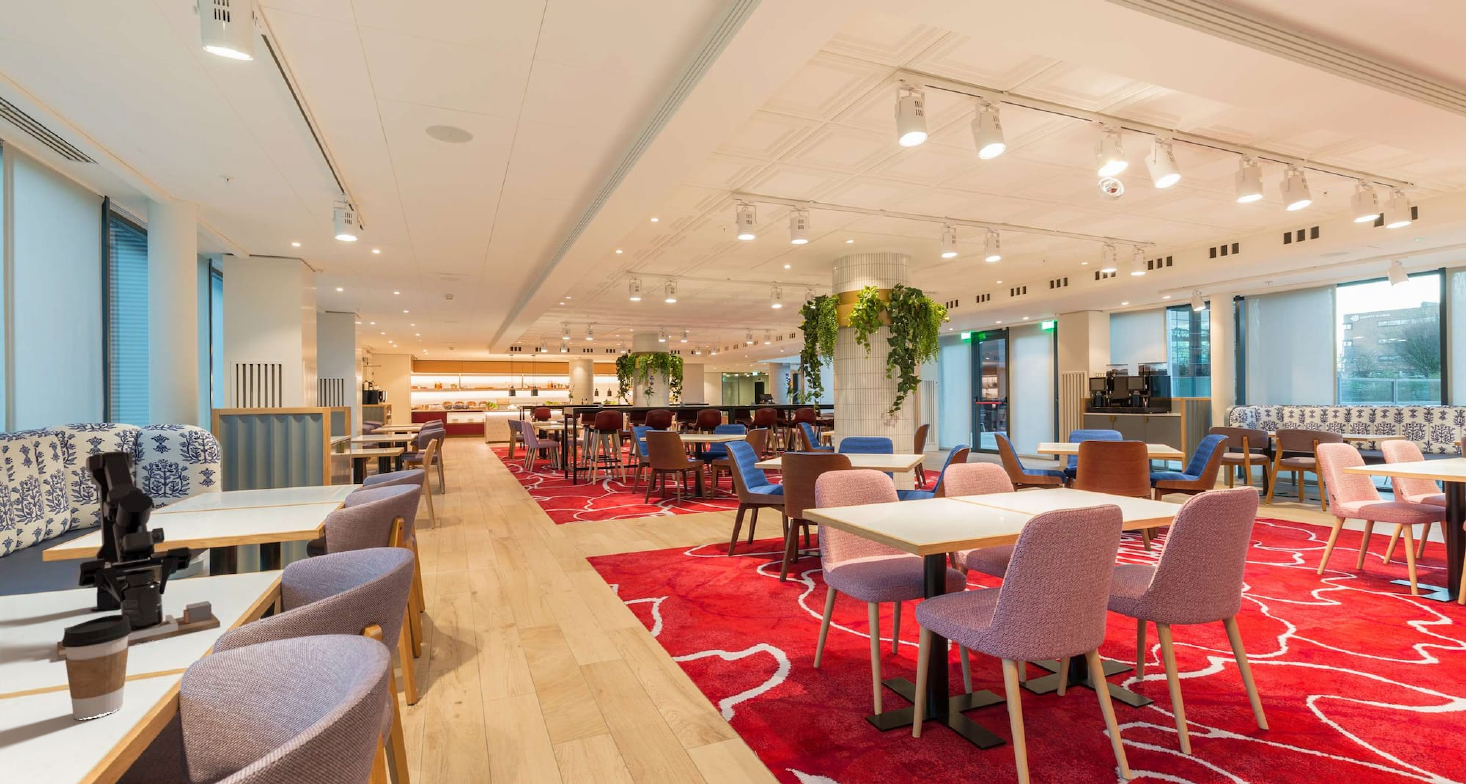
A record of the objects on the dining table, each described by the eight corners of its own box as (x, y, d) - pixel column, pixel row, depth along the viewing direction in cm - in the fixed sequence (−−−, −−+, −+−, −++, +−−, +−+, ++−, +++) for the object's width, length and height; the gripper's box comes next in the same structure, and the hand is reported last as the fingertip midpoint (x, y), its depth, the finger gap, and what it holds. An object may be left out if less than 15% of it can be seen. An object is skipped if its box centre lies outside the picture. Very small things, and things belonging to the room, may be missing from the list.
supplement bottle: (169, 622, 150) (166, 569, 149) (131, 633, 144) (128, 578, 143) (154, 618, 153) (150, 566, 152) (116, 629, 147) (112, 575, 146)
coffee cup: (144, 704, 114) (143, 616, 114) (82, 728, 106) (81, 633, 106) (112, 698, 117) (111, 612, 117) (50, 720, 109) (49, 628, 109)
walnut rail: (210, 616, 161) (210, 597, 161) (220, 626, 154) (219, 606, 154) (57, 647, 142) (56, 625, 142) (59, 661, 135) (59, 637, 135)
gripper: (78, 524, 143) (86, 585, 136) (189, 511, 158) (201, 566, 151) (74, 555, 149) (81, 616, 141) (181, 540, 163) (193, 594, 156)
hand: (142, 597), depth 147 cm, fingers closed on supplement bottle, 7 cm apart
